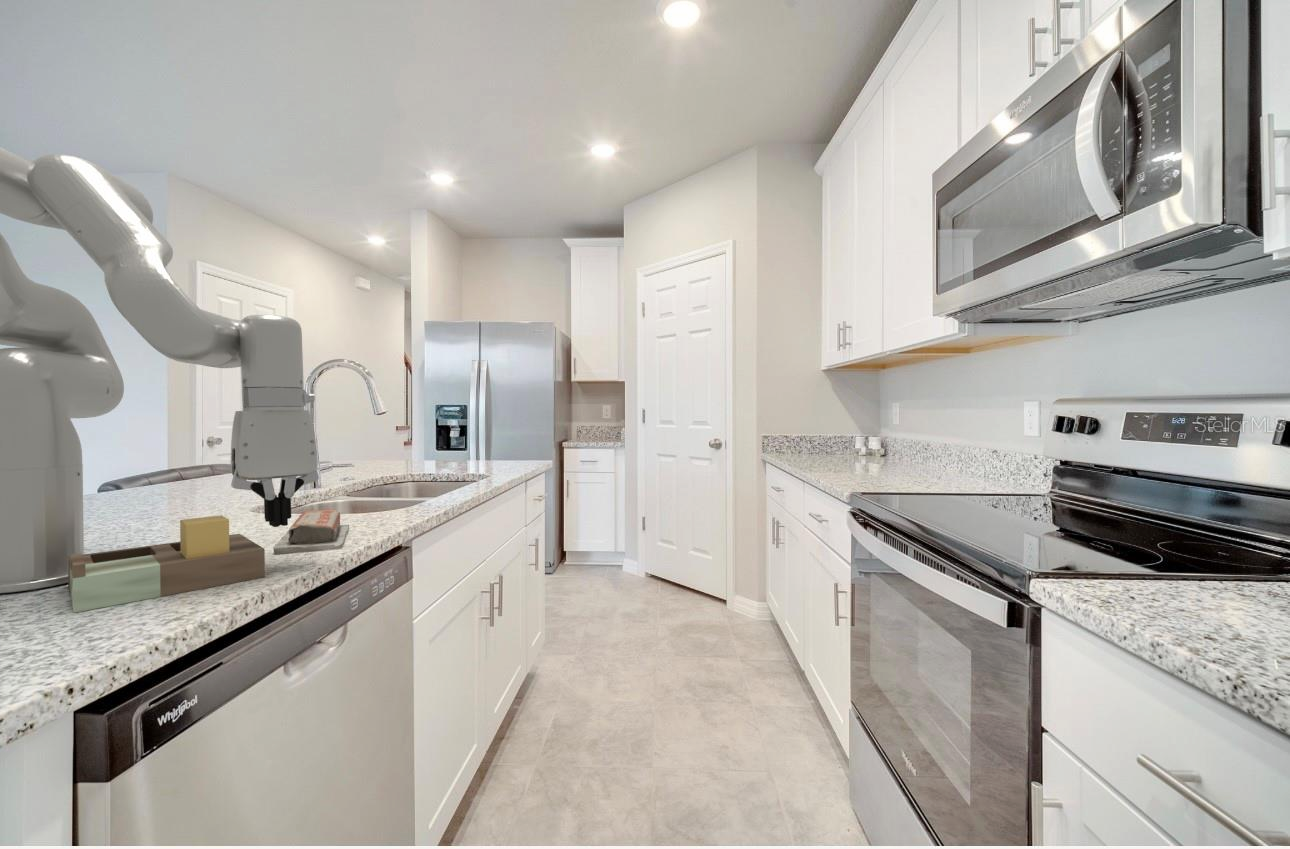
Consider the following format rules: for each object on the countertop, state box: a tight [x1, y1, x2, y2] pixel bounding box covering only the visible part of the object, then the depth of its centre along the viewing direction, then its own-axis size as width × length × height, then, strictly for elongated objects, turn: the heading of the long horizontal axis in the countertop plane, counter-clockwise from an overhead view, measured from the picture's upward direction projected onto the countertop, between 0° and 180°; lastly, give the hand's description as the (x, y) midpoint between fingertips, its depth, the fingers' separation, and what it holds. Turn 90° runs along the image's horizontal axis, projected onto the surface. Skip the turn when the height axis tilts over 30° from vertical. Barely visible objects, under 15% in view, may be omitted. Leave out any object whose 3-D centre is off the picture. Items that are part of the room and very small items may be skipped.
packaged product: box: [272, 509, 350, 555], centre depth 98 cm, size 18×5×10 cm
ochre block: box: [179, 515, 230, 559], centre depth 74 cm, size 4×4×4 cm
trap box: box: [67, 533, 266, 614], centre depth 74 cm, size 14×18×6 cm
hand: (278, 524), depth 80 cm, fingers closed
